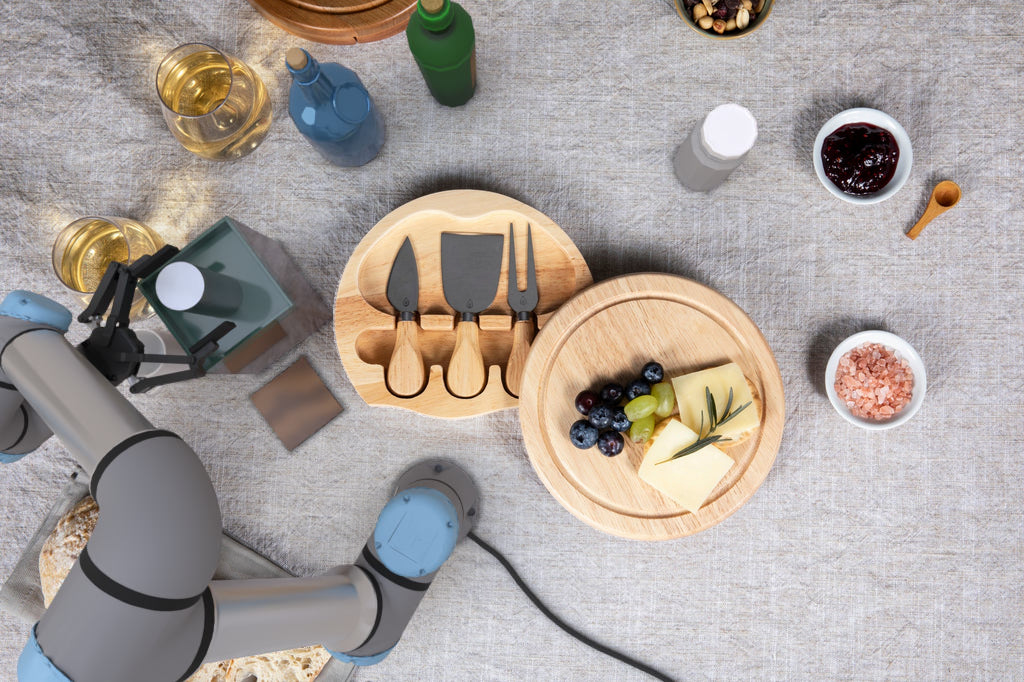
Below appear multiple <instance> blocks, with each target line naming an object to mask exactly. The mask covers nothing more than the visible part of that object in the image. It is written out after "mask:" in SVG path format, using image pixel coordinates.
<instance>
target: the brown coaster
mask: <svg viewBox="0 0 1024 682" xmlns="http://www.w3.org/2000/svg"><path fill="white" fill-rule="evenodd" d="M249 399H250V401H251V402H252V404H253V405H254V406H255V407H256V409H257V410H258V412H259V413H260V414H261V415H262V417H263V418H264V420H265V421H266V422H267V423H268V425H269V427H270V428H271V429H272V430H273V431H274V433H275V435H276V436H277V437H278V438H279V440H280V442H281V443H282V444H283V445H284V446H285V448H286V449H287V451H288V452H291V451H292V450H294V449H295V448H297V447H298V446H299V445H300V444H302V443H303V442H304V441H306V440H307V439H308V438H310V437H311V436H312V435H314V434H315V433H316V432H317V431H319V430H320V429H321V428H323V427H324V426H326V425H327V424H328V423H329V422H331V421H332V420H333V419H335V418H336V417H337V416H339V415H340V414H341V413H342V412H344V411H345V409H344V408H343V407H342V405H341V404H340V403H339V401H338V400H337V399H336V397H335V396H334V395H333V393H332V392H331V391H330V389H329V388H328V387H327V385H326V384H325V382H324V381H323V380H322V378H321V377H320V376H319V375H318V373H317V372H316V371H315V369H314V368H313V367H312V365H311V364H310V363H309V361H308V360H307V358H306V357H305V356H302V357H300V358H299V359H298V360H296V361H295V362H294V363H293V364H291V365H290V366H288V367H287V368H286V369H285V370H283V371H282V372H281V373H279V374H278V375H277V376H275V377H274V378H273V379H271V380H270V381H269V382H267V383H266V384H265V385H264V386H263V387H261V388H259V389H258V390H257V391H256V392H255V393H253V394H252V395H251V396H249Z"/></svg>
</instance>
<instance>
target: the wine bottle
mask: <svg viewBox="0 0 1024 682" xmlns="http://www.w3.org/2000/svg"><path fill="white" fill-rule="evenodd" d="M284 58H285V59H284V61H285V67H286V69H287V71H288V72H289V76H290V77H291V79H292V80H293V81H292V83H291V85H290V87H289V89H288V90H287V113H288V115H289V117H290V119H291V121H292V123H293V124H294V125H295V127H296V129H297V130H298V132H299V134H300V135H301V136H302V137H303V138H304V139H305V140H306V141H307V142H308V143H309V144H310V145H311V147H312V148H313V149H314V150H315V151H316V152H317V153H318V154H319V155H320V156H321V157H322V158H323V159H325V160H326V161H327V162H328V161H329V162H330V163H332V164H333V165H335V166H337V167H339V168H358V167H359V168H360V167H361V166H363V165H365V164H366V163H368V162H369V161H372V160H373V159H374V158H376V157H377V155H378V154H379V152H380V150H381V148H382V146H383V145H384V143H385V141H386V122H385V119H384V117H383V116H382V113H381V112H380V110H379V108H378V107H377V104H376V103H375V101H374V99H373V97H372V95H371V94H370V92H369V90H368V88H367V87H366V84H364V82H363V80H362V79H361V77H360V75H359V74H358V73H357V71H355V70H353V69H352V68H349V67H347V66H346V65H344V64H341V63H339V62H338V61H329V62H327V61H325V62H323V61H322V62H319V61H318V60H317V59H316V58H315V57H314V56H313V55H312V54H311V53H310V52H309V51H307V50H306V49H304V48H302V47H290V48H289V49H288V50H287V51H286V52H285V57H284Z"/></svg>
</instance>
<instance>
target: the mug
mask: <svg viewBox="0 0 1024 682" xmlns="http://www.w3.org/2000/svg"><path fill="white" fill-rule="evenodd" d="M133 331H134V332H135V333H136V336H137V338H138V339H139V340H140V341H141V342H142V343H143V344H144V345H145V347H144V354H164V355H187V354H186V353H185V351H184V350H183V349H182V347H181V346H180V345H179V343H178V342H177V340H176V339H175V338H174V336H173V335H172V334H171V332H170V331H169V330H162V329H154V328H146V327H145V328H143V327H140V328H135V329H133ZM187 356H188V355H187ZM185 370H190V368H189V365H188V364H171V363H148V362H141V365H140V368H139V371H138V374H137V376H138V377H147V378H150V377H155V376H160V375H165V374H170V373H175V372H180V371H185ZM164 387H165V385H162V386H157V387H155V390H154V391H153V392H151V393H150V394H149V393H148V394H147V392H146V393H142V394H140V395H141V396H142V397H144V398H145V399H146V398H147V399H151V398H154V397H156V396H157V395H159V394H160V392H161V391H162V390H163V389H164Z"/></svg>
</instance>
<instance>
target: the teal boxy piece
mask: <svg viewBox="0 0 1024 682" xmlns="http://www.w3.org/2000/svg"><path fill="white" fill-rule="evenodd" d="M179 250H180V251H181V252H179V253H178V254H177V255H175V256H174V257H173V258H171V259H170V260H169V261H168V262H166V263H165V264H164V265H162V266H161V267H160V268H158V269H157V270H156V271H154V272H153V273H152V274H151V275H149V276H148V277H147V278H145V279H141V278H140V280H138V281H137V285H136V288H137V289H138V290H139V292H140V294H142V296H143V297H144V299H145V300H146V301H147V302H148V304H149V306H150V307H151V308H152V310H153V311H154V312H155V313H156V315H157V316H158V317H159V319H160V320H161V322H163V324H164V326H165V327H166V328H167V331H170V332H171V334H172V335H173V336H174V338H175V339H176V340H177V342H178V343H179V345H180V346H181V347H182V349H183V350H184V351H185V353H186V354H187V355H188V356H191V355H192V354H191V353H190V352H189V351H188V349H189V348H190V347H192V346H193V345H194V344H196V343H197V342H198V341H199V340H201V339H202V338H203V337H205V336H206V335H207V334H209V333H210V332H211V331H212V330H214V329H215V328H216V327H218V326H219V325H220V324H222V323H223V322H224V321H230V322H234V323H235V325H236V326H237V327H235V328H234V329H233V330H231V331H230V332H229V333H227V334H226V335H225V336H224V337H222V338H221V339H220V340H218V341H217V343H218V344H219V348H218V349H217V350H216V351H215V352H214V353H212V354H211V355H210V356H208V357H207V358H206V359H205V362H204V364H202V365H203V368H204V370H205V371H206V376H207V375H208V376H209V375H210V376H211V375H212V376H213V375H214V376H216V375H217V376H219V375H220V376H221V375H223V376H224V375H226V376H227V375H232V376H233V375H259V374H260V373H262V372H264V370H265V369H267V368H268V367H269V366H271V365H272V364H273V363H275V362H276V361H278V360H279V359H280V358H282V357H283V356H285V354H287V353H289V351H291V350H292V349H293V348H294V347H296V346H297V345H298V344H300V343H301V342H303V341H304V340H305V339H306V338H308V337H310V336H311V334H313V333H314V332H315V331H317V330H319V329H320V328H321V327H322V326H323V325H325V324H327V323H328V322H329V321H330V320H332V319H333V318H334V315H333V314H332V313H331V311H330V310H329V308H328V307H327V305H326V304H325V303H324V302H323V300H322V299H321V297H320V296H319V295H318V294H317V292H316V291H315V290H314V288H313V287H312V286H311V285H310V283H309V281H307V279H306V278H305V276H304V275H303V273H301V271H300V270H299V268H298V267H297V266H296V264H295V263H294V262H293V260H291V258H290V257H289V255H288V254H287V252H286V251H285V250H284V249H283V247H282V246H281V244H280V243H279V241H276V240H274V239H273V238H270V237H268V236H266V235H264V234H263V233H261V232H259V231H257V230H256V229H254V228H251V227H249V226H248V225H245V224H244V223H242V222H240V221H238V220H237V219H234V218H233V217H231V216H229V215H224V216H223V217H222V218H220V219H219V220H218V221H216V222H215V223H214V224H213V225H211V226H210V227H209V228H207V229H206V230H204V231H203V232H202V233H200V234H199V235H197V236H196V237H195V238H194V239H192V240H191V241H190V242H189V243H187V244H186V245H185V246H184V247H182V248H180V249H179ZM174 262H187V263H190V264H193V265H197V266H200V267H203V268H206V269H209V270H212V271H215V272H218V273H221V274H224V275H227V276H230V277H232V278H233V279H235V280H236V281H237V282H238V284H239V285H240V288H241V291H242V301H241V304H240V306H239V308H238V309H237V310H236V311H235V312H234V313H233V314H232V315H230V316H228V317H224V318H216V317H210V316H205V315H199V314H193V313H188V312H182V311H176V310H172V309H170V308H168V307H166V306H165V305H164V304H162V302H161V301H160V300H159V298H158V296H157V293H156V280H157V277H158V275H159V274H160V272H161V271H162V270H163V269H164V268H165V267H166V266H168V265H169V264H171V263H174Z"/></svg>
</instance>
